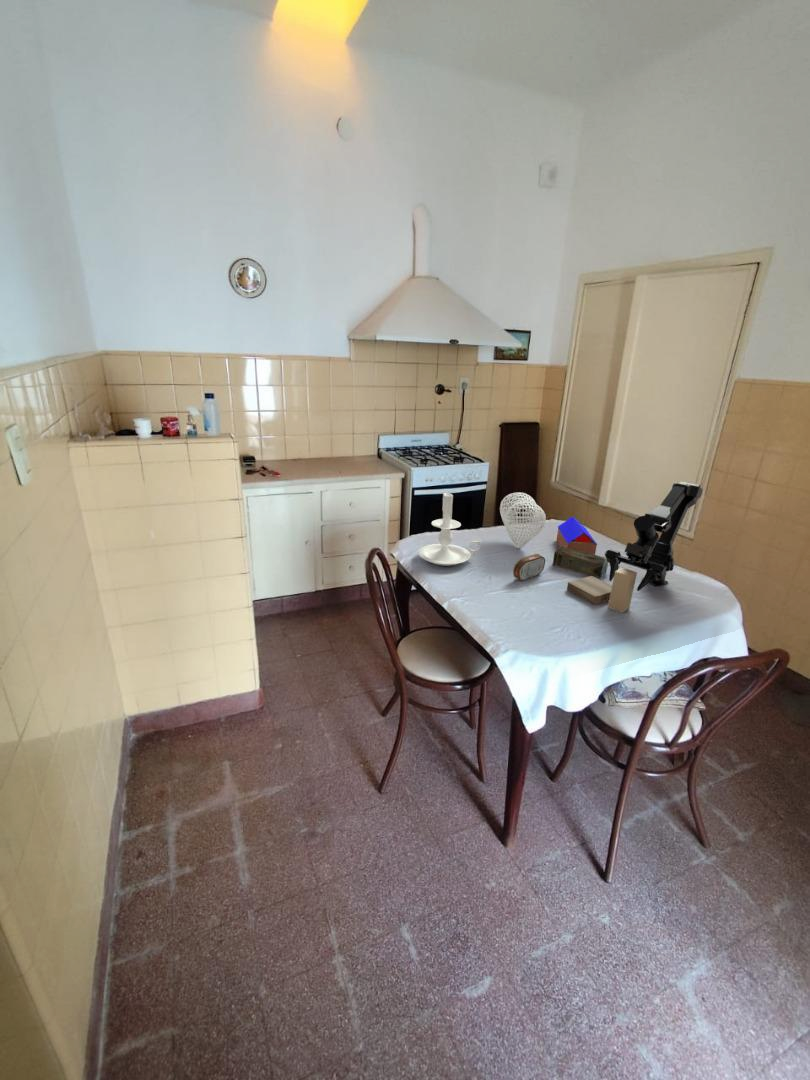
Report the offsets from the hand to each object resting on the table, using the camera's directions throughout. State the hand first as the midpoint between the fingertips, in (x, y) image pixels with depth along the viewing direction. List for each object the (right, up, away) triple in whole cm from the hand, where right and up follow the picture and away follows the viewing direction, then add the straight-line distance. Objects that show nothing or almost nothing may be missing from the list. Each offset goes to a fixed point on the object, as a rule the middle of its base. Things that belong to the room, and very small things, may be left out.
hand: (623, 585), depth 160 cm
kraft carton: (0, -8, +3) cm, 8 cm away
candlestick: (-54, +6, +35) cm, 65 cm away
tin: (-25, +1, +23) cm, 34 cm away
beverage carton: (-3, +3, +31) cm, 32 cm away
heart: (-23, +11, +50) cm, 56 cm away
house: (+1, +10, +50) cm, 51 cm away
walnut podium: (-6, -4, +12) cm, 14 cm away
